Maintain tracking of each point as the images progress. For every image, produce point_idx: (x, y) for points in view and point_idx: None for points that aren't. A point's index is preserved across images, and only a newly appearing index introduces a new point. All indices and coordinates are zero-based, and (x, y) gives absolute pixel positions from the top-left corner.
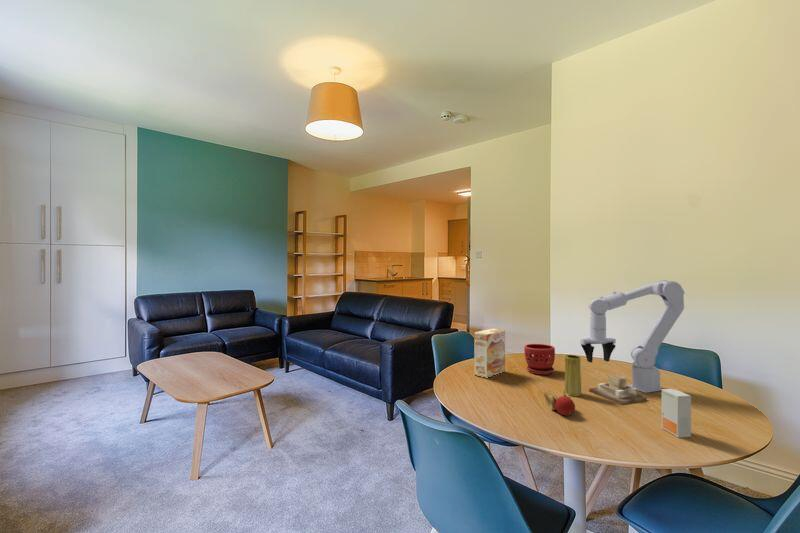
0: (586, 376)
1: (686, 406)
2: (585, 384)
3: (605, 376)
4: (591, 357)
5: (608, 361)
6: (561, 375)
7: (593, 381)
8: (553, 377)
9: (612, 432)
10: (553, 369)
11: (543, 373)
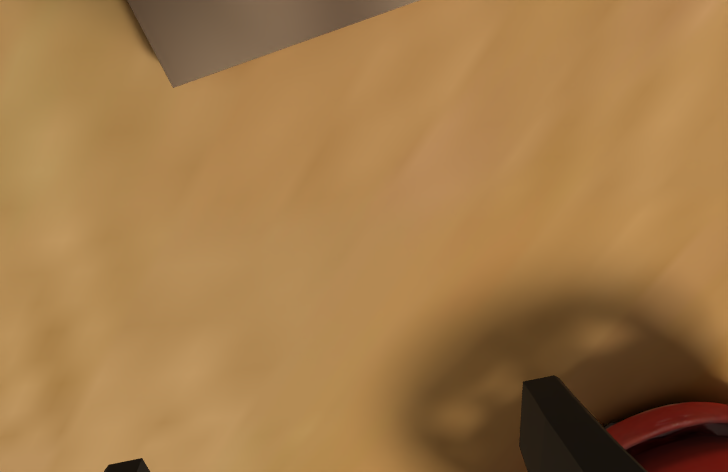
0: (303, 406)
1: None
2: (468, 184)
3: (95, 424)
4: (613, 465)
5: (118, 463)
6: None
7: (312, 281)
8: (641, 356)
9: None
10: None
11: (705, 403)
